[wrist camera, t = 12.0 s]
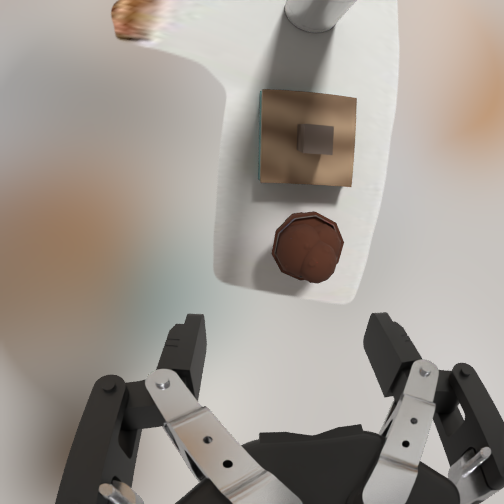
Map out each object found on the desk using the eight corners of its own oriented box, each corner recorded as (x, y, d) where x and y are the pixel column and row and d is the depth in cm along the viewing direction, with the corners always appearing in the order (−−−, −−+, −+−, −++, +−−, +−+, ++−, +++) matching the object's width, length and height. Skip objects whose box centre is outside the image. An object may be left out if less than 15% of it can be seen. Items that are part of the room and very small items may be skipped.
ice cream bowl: (333, 202, 49) (363, 231, 36) (319, 258, 54) (340, 303, 40) (274, 192, 49) (284, 218, 35) (264, 251, 53) (269, 295, 40)
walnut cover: (261, 92, 41) (264, 82, 32) (349, 100, 41) (371, 94, 32) (259, 178, 47) (262, 190, 38) (344, 182, 47) (364, 195, 38)
